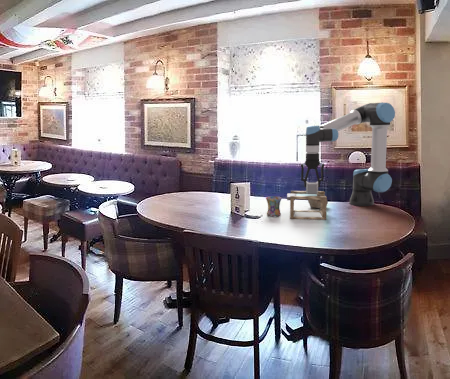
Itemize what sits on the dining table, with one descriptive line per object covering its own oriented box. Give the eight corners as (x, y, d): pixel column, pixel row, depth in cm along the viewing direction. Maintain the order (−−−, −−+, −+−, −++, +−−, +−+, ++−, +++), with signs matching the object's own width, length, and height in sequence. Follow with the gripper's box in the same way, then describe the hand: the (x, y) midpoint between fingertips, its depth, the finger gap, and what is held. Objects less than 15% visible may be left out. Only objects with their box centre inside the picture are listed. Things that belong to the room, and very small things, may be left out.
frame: (323, 212, 243) (324, 191, 241) (326, 219, 226) (326, 197, 224) (290, 211, 247) (290, 190, 245) (290, 218, 229) (290, 196, 227)
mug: (283, 217, 234) (283, 199, 232) (267, 217, 234) (267, 199, 232) (279, 212, 246) (279, 195, 244) (264, 212, 246) (264, 195, 244)
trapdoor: (316, 196, 240) (316, 193, 240) (317, 201, 227) (317, 197, 227) (287, 196, 243) (287, 192, 243) (287, 200, 230) (287, 197, 230)
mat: (319, 213, 241) (319, 212, 241) (321, 218, 229) (321, 217, 229) (294, 212, 244) (294, 211, 244) (294, 217, 231) (294, 216, 231)
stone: (316, 192, 236) (316, 182, 235) (316, 194, 231) (316, 184, 230) (307, 192, 237) (307, 182, 236) (307, 194, 232) (307, 184, 231)
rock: (325, 195, 262) (330, 193, 255) (323, 211, 261) (328, 209, 253) (305, 191, 262) (309, 189, 254) (303, 207, 260) (307, 205, 252)
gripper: (328, 152, 232) (327, 191, 236) (296, 152, 235) (296, 191, 239) (329, 153, 224) (328, 194, 229) (296, 153, 228) (296, 193, 232)
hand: (311, 192), depth 234 cm, fingers closed on stone, 5 cm apart
